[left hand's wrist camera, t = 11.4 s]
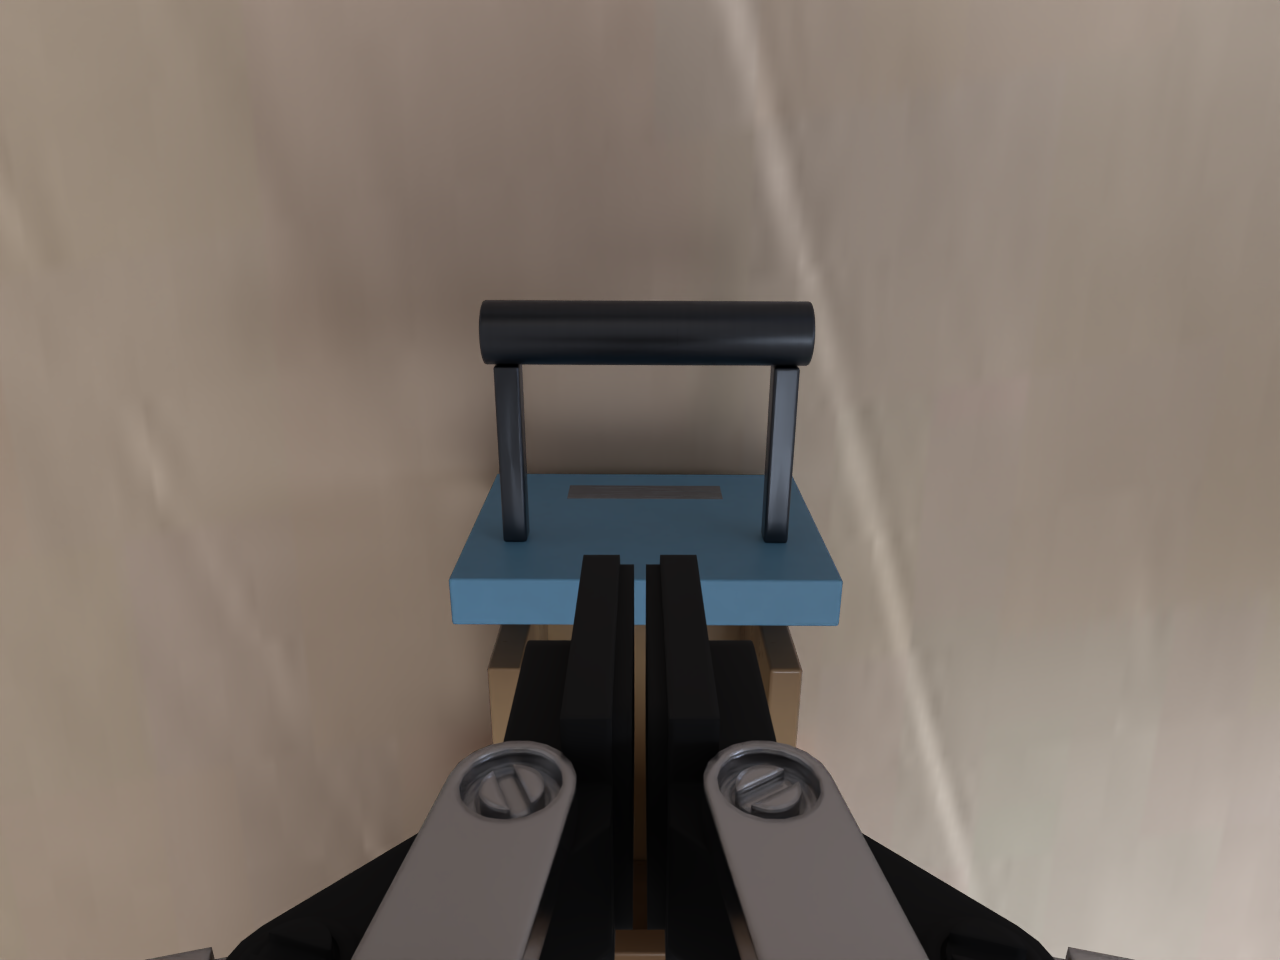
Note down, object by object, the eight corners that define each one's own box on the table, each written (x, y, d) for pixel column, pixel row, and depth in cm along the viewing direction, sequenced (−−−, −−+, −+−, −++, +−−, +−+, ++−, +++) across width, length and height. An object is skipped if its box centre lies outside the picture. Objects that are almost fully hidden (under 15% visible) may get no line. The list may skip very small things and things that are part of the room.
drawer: (485, 274, 24) (426, 317, 17) (806, 275, 24) (869, 319, 17) (519, 852, 31) (486, 1037, 25) (765, 853, 31) (798, 1038, 25)
